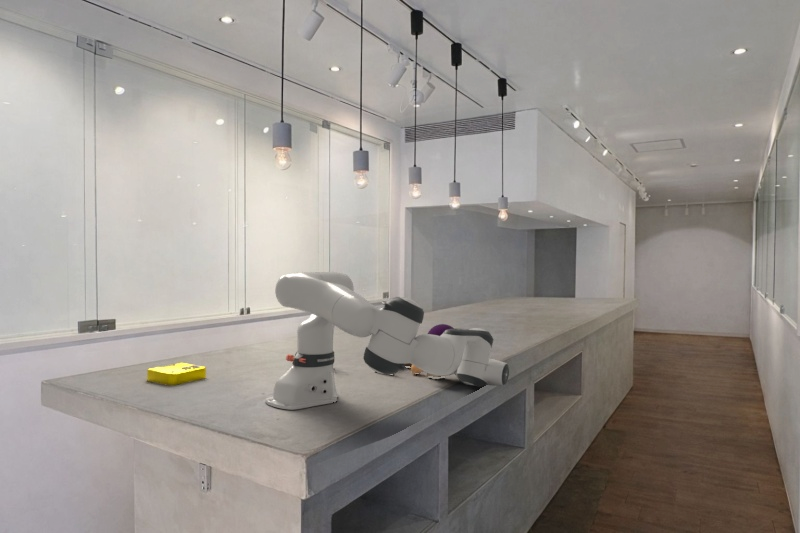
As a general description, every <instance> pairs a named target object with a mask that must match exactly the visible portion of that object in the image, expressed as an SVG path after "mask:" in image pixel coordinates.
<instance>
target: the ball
mask: <svg viewBox="0 0 800 533" xmlns="http://www.w3.org/2000/svg"><path fill="white" fill-rule="evenodd" d="M410 371H411V373H412V374H413V373H421V372H424V371H423V370H421V369H419V368H418V367H416V366H414V365H413V364H412V366H411V369H410ZM421 374H422V373H421Z"/></svg>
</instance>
